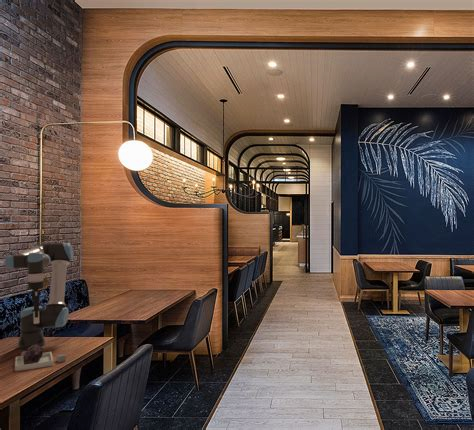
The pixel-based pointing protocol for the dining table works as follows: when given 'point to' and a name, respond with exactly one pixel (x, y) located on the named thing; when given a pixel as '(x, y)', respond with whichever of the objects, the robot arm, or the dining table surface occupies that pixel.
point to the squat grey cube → (61, 358)
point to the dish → (43, 362)
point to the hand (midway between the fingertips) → (36, 320)
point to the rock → (33, 354)
